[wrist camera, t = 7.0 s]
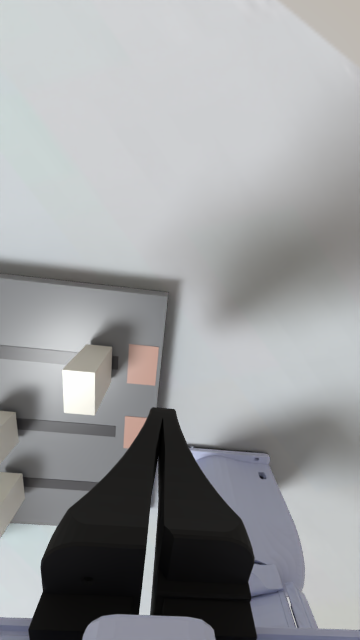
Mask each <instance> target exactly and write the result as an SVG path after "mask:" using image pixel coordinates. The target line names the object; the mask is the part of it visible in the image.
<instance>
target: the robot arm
mask: <svg viewBox="0 0 360 640" xmlns="http://www.w3.org/2000/svg"><path fill="white" fill-rule="evenodd" d="M157 461H158V496H159V500H158V520H157V533H156V547H155V560H154V573H153V586H152V599H151V611H150V615H139V608H140V599H141V590H142V581H143V572H144V563H145V554H146V544H147V534H148V524H149V513H150V503H151V495H152V489H153V483H154V478H155V472H156V467H157ZM269 462H270V457H269V455H268V454H264V453H252V452H239V451H226V450H213V449H200V448H189V447H188V445H187V443H186V440H185V438H184V436H183V433H182V431H181V428H180V425H179V422H178V419H177V415H176V411H175V410H174V409H166V408H155V407H152V408H151V409H150V412H149V415H148V417H147V419H146V421H145V423H144V425H143V427H142V428H141V430H140V432H139V434H138V435H137V437H136V438H135V440H134V441H133V443H132V444H131V446H130V447H129V449H128V450H127V451H126V453H125V454H124V455H123V456H122V458H121V459H120V460H119V461H118V462H117V464H116V465H115V466H114V467H113V468H112V469H111V470H110V471H109V472H108V474H107V475H106V476H105V477H104V478H103V479H102V480H101V481H99V482H98V483H97V484H96V485H95V486H94V487H93V488H92V489H91V490H90V491H89V492H88V493H87V494H86V495H84V496H83V497H82V498H81V499H80V500H78V501H77V502H76V503H75V504H74V505H72V506H71V507H70V508H69V509H68V510H67V512H66V513H65V515H64V516H63V518H62V519H61V521H60V523H59V525H58V526H57V528H56V530H55V532H54V534H53V535H52V537H51V540H50V542H49V544H48V546H47V549H46V551H45V553H44V556H43V558H42V560H41V576H42V586H43V593H42V595H41V598H40V600H39V603H38V606H37V608H36V611H35V613H34V616H33V618H5V617H0V640H360V630H342V629H318V626H317V624H316V621H315V619H314V616H313V614H312V611H311V609H310V606H309V604H308V601H307V599H306V597H305V595H304V593H303V592H301V591H302V589H303V586H304V579H305V565H304V557H303V552H302V547H301V543H300V539H299V535H298V532H297V529H296V526H295V524H294V521H293V519H292V517H291V514H290V512H289V510H288V507H287V505H286V503H285V501H284V498H283V496H282V494H281V491H280V489H279V487H278V484H277V482H276V480H275V478H274V475H273V473H272V471H271V468H270V466H269ZM286 597H289V599H290V602H291V609H292V612H293V615H294V618H295V621H296V624H297V627H298V628H296V626H295V623H294V620H293V617H292V614H291V610H290V607H289V604H288V601H287V598H286Z"/></svg>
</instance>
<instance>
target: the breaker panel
mask: <svg viewBox="0 0 360 640" xmlns="http://www.w3.org/2000/svg"><path fill="white" fill-rule="evenodd" d="M167 302H168V292H162V291H153V290H144V289H136V288H127V287H118V286H109V285H100V284H91V283H82V282H73V281H64V280H55V279H46V278H38V277H29V276H20V275H11V274H2V273H0V411H9V412H16V421H17V430H18V439H19V442H18V443H17V444H16V446H15V447H14V448H13V449H12V450H11V452H10V453H9V454H8V455H7V457H6V458H5V459H4V460H3V461H2V463H1V464H0V472H8V473H22V475H23V484H24V493H25V499H24V500H23V502H22V504H21V505H20V507H19V509H18V510H17V512H16V514H15V515H14V517H13V519H12V520H11V522H10V523H20V524H37V525H54V526H58V525H59V523H60V521H61V519H62V518H63V516H64V515H65V513H66V512H67V510H68V509H69V508H70V507H71V506H72V505H74V504H75V503H76V502H77V501H78V500H80V499H81V498H82V497H83V496H84V495H86V494H87V493H88V492H89V491H90V490H91V489H92V488H93V487H94V486H95V485H96V484H97V483H98V482H99V481H101V480H102V479H103V478H104V477H105V476H106V475H107V474H108V472H109V471H110V470H111V469H112V468H113V467H114V466H115V465H116V464H117V462H118V461H119V460H120V459H121V458H122V456H123V455H124V454H125V453H126V451H127V450H128V449H129V447H130V446H131V444H132V443H133V441H134V440H135V438H136V437H137V435H138V434H139V432H140V430H141V428H142V427H143V425H144V423H145V421H146V419H147V417H148V415H149V412H150V409H151V408H152V407H155V408H157V400H158V390H159V380H160V370H161V361H162V351H163V341H164V331H165V322H166V312H167ZM86 344H89V345H99V346H109V347H112V370H111V383H110V385H109V387H108V389H107V391H106V393H105V395H104V397H103V400H102V402H101V404H100V406H99V408H98V410H97V412H96V414H95V415H83V414H71V413H64V403H63V376H62V369H63V368H64V367H65V366H66V365H67V364H68V363H69V362H70V361H71V360H72V359H73V358H74V357H75V356H76V355H77V354H78V353H79V352H80V351H81V350H82V349H83V347H84V346H85V345H86Z"/></svg>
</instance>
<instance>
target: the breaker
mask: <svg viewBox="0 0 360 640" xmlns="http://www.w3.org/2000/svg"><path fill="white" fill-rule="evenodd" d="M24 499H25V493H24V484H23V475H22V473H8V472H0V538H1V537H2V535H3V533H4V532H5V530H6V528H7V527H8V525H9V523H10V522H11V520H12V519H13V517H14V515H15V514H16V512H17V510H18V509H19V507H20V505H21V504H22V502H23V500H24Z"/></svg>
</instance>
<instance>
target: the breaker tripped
mask: <svg viewBox="0 0 360 640" xmlns="http://www.w3.org/2000/svg"><path fill="white" fill-rule="evenodd" d="M111 370H112V347H109V346H99V345H89V344H86V345H85V346H84V347H83V349H82V350H81V351H80V352H79V353H78V354H77V355H76V356H75V357H74V358H73V359H72V360H71V361H70V362H69V363H68V364H67V365H66V366H65V367H64V368H63V369H62V376H63V403H64V413H71V414H83V415H95V414H96V412H97V410H98V408H99V406H100V404H101V402H102V400H103V397H104V395H105V393H106V391H107V389H108V387H109V385H110V383H111Z"/></svg>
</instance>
